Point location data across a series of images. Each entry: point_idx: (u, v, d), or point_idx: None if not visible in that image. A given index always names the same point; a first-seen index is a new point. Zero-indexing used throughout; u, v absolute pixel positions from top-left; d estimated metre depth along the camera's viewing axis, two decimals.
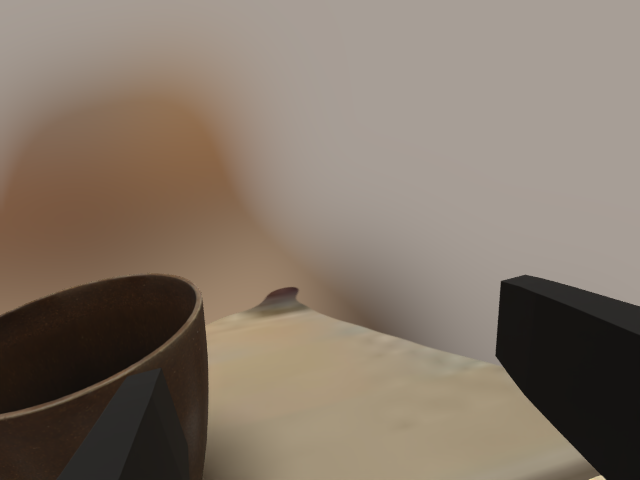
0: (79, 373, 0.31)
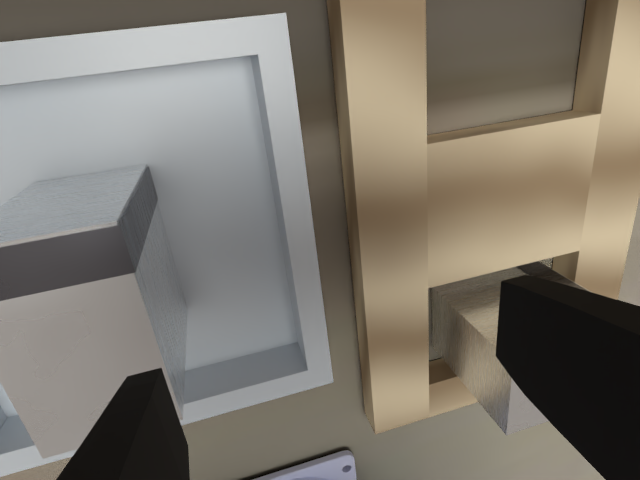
0: None
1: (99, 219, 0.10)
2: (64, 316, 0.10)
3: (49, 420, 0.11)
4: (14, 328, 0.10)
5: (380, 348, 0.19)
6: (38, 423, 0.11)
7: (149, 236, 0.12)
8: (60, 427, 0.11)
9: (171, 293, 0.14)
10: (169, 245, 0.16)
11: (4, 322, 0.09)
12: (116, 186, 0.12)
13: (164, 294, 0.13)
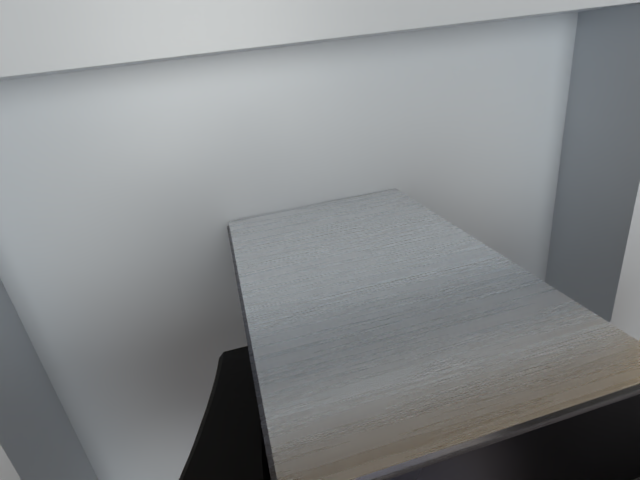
0: None
1: (601, 354, 0.04)
2: None
3: None
4: None
5: None
6: None
7: None
8: None
9: None
10: None
11: None
12: (434, 239, 0.07)
13: None
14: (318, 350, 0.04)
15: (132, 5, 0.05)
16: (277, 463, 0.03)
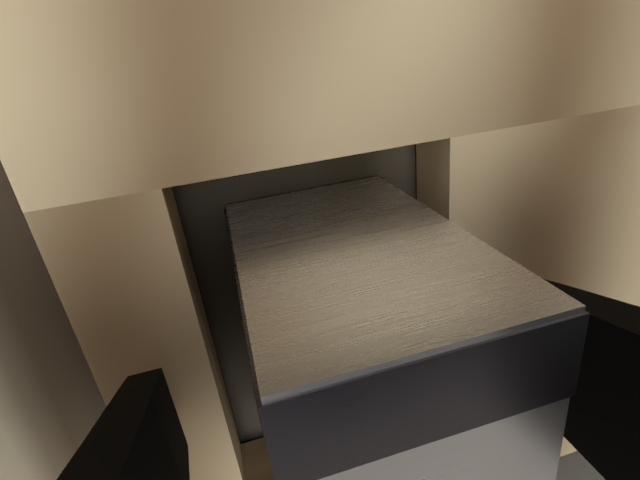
0: None
1: (524, 297, 0.05)
2: None
3: None
4: None
5: None
6: None
7: None
8: None
9: None
10: None
11: None
12: (405, 216, 0.07)
13: None
14: (296, 299, 0.05)
15: None
16: (258, 374, 0.04)
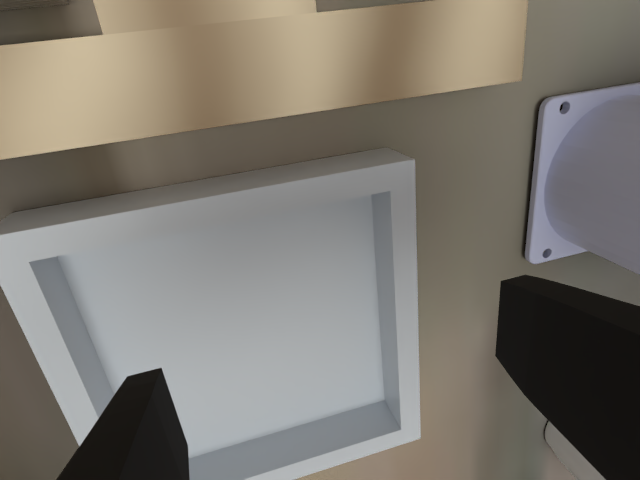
0: None
1: None
2: None
3: None
4: None
5: (394, 82, 0.15)
6: None
7: None
8: None
9: None
10: None
11: None
12: None
13: None
14: None
15: None
16: None
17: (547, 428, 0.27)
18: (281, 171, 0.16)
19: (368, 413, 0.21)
